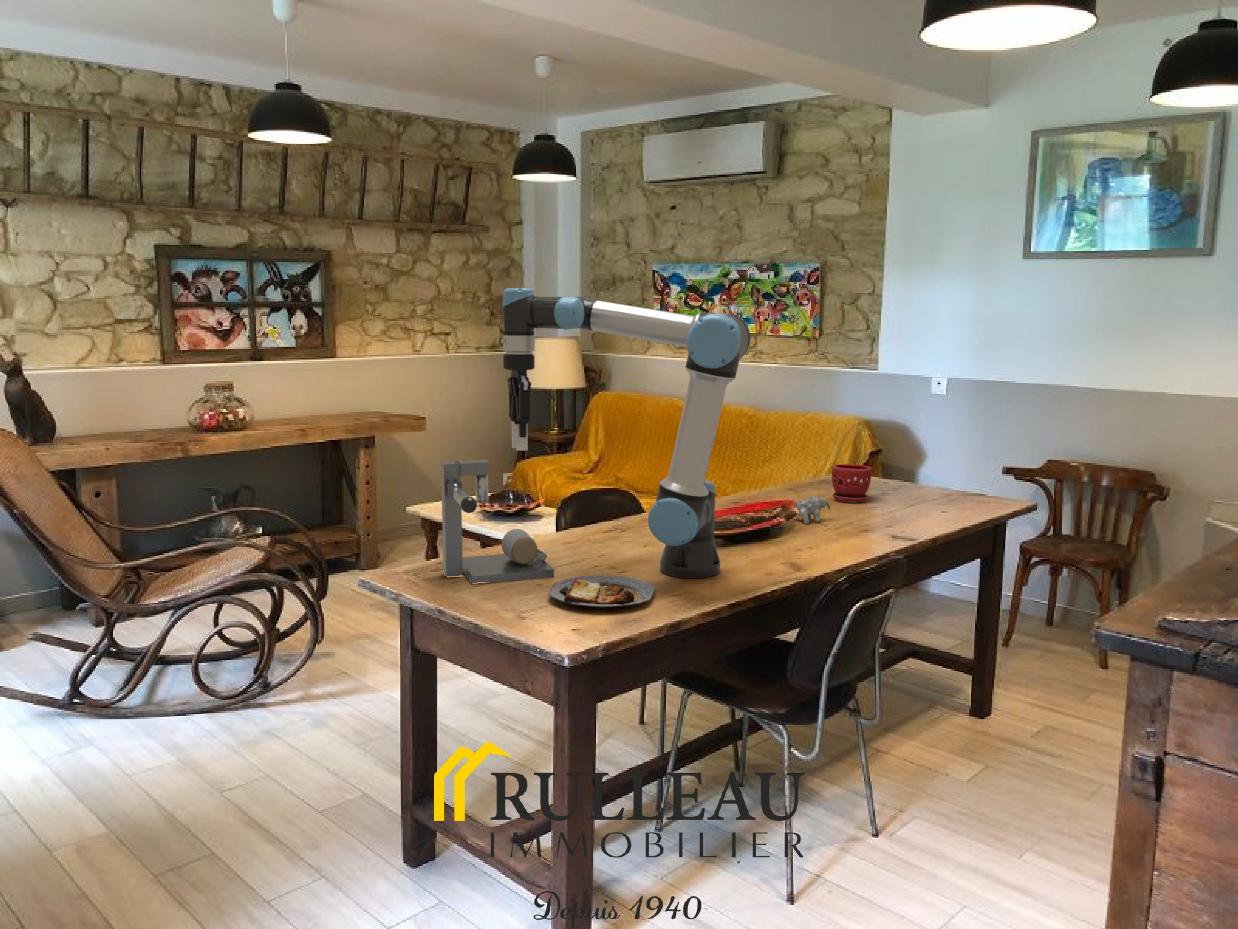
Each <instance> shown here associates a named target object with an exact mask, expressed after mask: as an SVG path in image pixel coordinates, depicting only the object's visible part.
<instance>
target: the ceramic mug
mask: <svg viewBox="0 0 1238 929" xmlns="http://www.w3.org/2000/svg"><path fill="white" fill-rule="evenodd" d="M501 549H502V552H503V554H505V555H506V556H508V557H509V558H510V559H511V560H513V561H514V562H515V563H518V564H521V565H524V564H529V563H530V562H532V561H533V560H534V559H535V558H536V559H539V560H543V561H546V559H547V557H548V554H547V553H546V552H544V551H542V550H541V549H538V545H537V543H536V540H534V539H533V537H531V536H530V534H529V533H527V532H526V531H525V530H523V529H520V528H513V529H510V530H508V531H507V532H506V533H505V534H504V536H503V537H502V539H501Z"/></svg>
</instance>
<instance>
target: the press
mask: <svg viewBox="0 0 1238 929" xmlns="http://www.w3.org/2000/svg"><path fill="white" fill-rule="evenodd" d="M490 469H491V467H490V461H489V460H487V459H477V460H476V459H475V460H474V459H471V460H455V461H454V460H453V461H452V460H451V461H440V472H441V473H440V474H441V475H440V477H441V478H440V479H441V485H440V486H441V518H442V519H441V521H442V523H441V524H442V527H441V528H442V562H443V564H442V567H443V574H444V573H445V575H446V577H447V576H459V575H463V576H464V574H465V573H466V575H467V576H468V578H470V580H471V582H472V583H477V582H496V583H501V582H500V581H507V582H515V581H514V580H518V581H526V579H529V580H535V579H536V578H540V579H548V578H549V579H551V578H554V577H555V569H554V568H553V567H552V566H551V565H550V564H549V563H548V562H547V561H546V560H545V561H543V560H539V559H536V558H535V559H534V560H533V561H532V562H530V563H529V564H524V565H521V564H518V563H515V562H514V561H513V560H511V559H510V558H509V557H508V556H506V555H505V554H504V553H501V554H500V553H498V554H490V555H489V554H486V555H474V556H464V557H463V523H462V522H463V516H462V511H463V510H462V509H461V506H460V505H459V504H458V502H457V501H456V500H455V499H451V500H449V499H448V496H447V483H452V482H461V483H462V477H470V476H475V500H476V502H477V504H485V503H489V475H490V474H491V470H490ZM463 571H464V572H465V573H464V572H463ZM466 575H465V576H466ZM467 576H466V577H467ZM446 577H445V578H446ZM468 578H467V579H468ZM524 579H525V580H524ZM470 580H469V581H470ZM512 580H513V581H512ZM536 580H537V579H536ZM498 581H499V582H498ZM471 582H470V583H471ZM472 583H471V584H472Z"/></svg>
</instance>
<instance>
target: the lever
mask: <svg viewBox="0 0 1238 929" xmlns="http://www.w3.org/2000/svg"><path fill="white" fill-rule="evenodd" d="M447 496H448V499H449V500H451V499H455V500H456V501H457V502H458V504H459V505H460V506H461V509H462V511H463V513H466V514H472V513H474V512H475V511H476V510H477V508H478V503H477V502H476V498H474V497H472V496H470V495H468V494H467V493H466V492H465V491H464V489H463V484H462V481H461V482H452V483H447Z"/></svg>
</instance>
